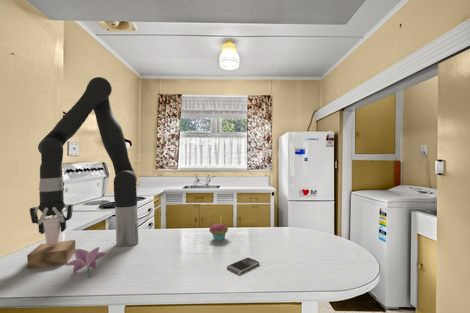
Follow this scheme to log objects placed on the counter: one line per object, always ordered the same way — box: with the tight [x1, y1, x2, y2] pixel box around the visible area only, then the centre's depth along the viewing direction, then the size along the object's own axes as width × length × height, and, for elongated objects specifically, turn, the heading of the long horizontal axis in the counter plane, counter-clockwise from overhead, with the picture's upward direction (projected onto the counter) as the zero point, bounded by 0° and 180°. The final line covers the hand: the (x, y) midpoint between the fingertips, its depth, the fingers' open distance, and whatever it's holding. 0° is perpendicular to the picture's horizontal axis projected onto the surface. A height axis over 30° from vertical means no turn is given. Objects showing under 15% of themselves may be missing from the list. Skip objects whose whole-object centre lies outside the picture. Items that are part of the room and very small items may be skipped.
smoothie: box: [42, 215, 61, 244], centre depth 96 cm, size 6×6×14 cm
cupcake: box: [208, 214, 229, 242], centre depth 114 cm, size 9×8×12 cm
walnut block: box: [26, 239, 77, 270], centre depth 96 cm, size 12×12×5 cm
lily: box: [63, 246, 110, 279], centre depth 83 cm, size 12×12×10 cm
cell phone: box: [226, 257, 260, 275], centre depth 85 cm, size 6×11×1 cm, turn 132°
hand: (52, 232), depth 96 cm, fingers closed on smoothie, 6 cm apart
